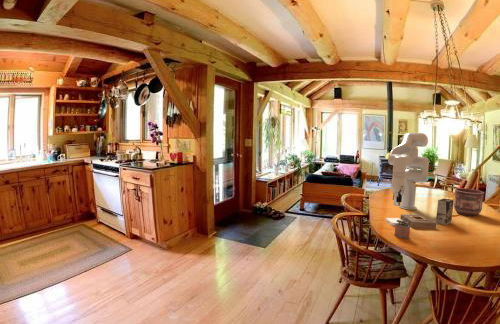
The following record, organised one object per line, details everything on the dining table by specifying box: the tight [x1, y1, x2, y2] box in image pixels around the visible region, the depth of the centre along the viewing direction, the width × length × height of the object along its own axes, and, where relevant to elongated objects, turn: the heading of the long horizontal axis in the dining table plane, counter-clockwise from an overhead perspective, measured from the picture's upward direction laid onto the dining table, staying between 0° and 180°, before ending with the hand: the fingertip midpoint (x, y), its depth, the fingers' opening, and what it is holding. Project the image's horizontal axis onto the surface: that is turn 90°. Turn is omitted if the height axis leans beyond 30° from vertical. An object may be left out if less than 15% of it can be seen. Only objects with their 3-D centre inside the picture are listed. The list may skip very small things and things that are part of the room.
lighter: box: [394, 220, 411, 240], centre depth 162 cm, size 8×3×10 cm, turn 44°
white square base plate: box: [385, 217, 402, 227], centre depth 186 cm, size 10×9×2 cm
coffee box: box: [435, 198, 455, 226], centre depth 186 cm, size 9×6×16 cm
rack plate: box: [399, 213, 438, 229], centre depth 184 cm, size 16×15×4 cm
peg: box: [393, 191, 401, 207], centre depth 184 cm, size 4×4×10 cm
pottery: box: [453, 188, 485, 217], centre depth 207 cm, size 18×18×18 cm
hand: (397, 200), depth 184 cm, fingers closed on peg, 4 cm apart
